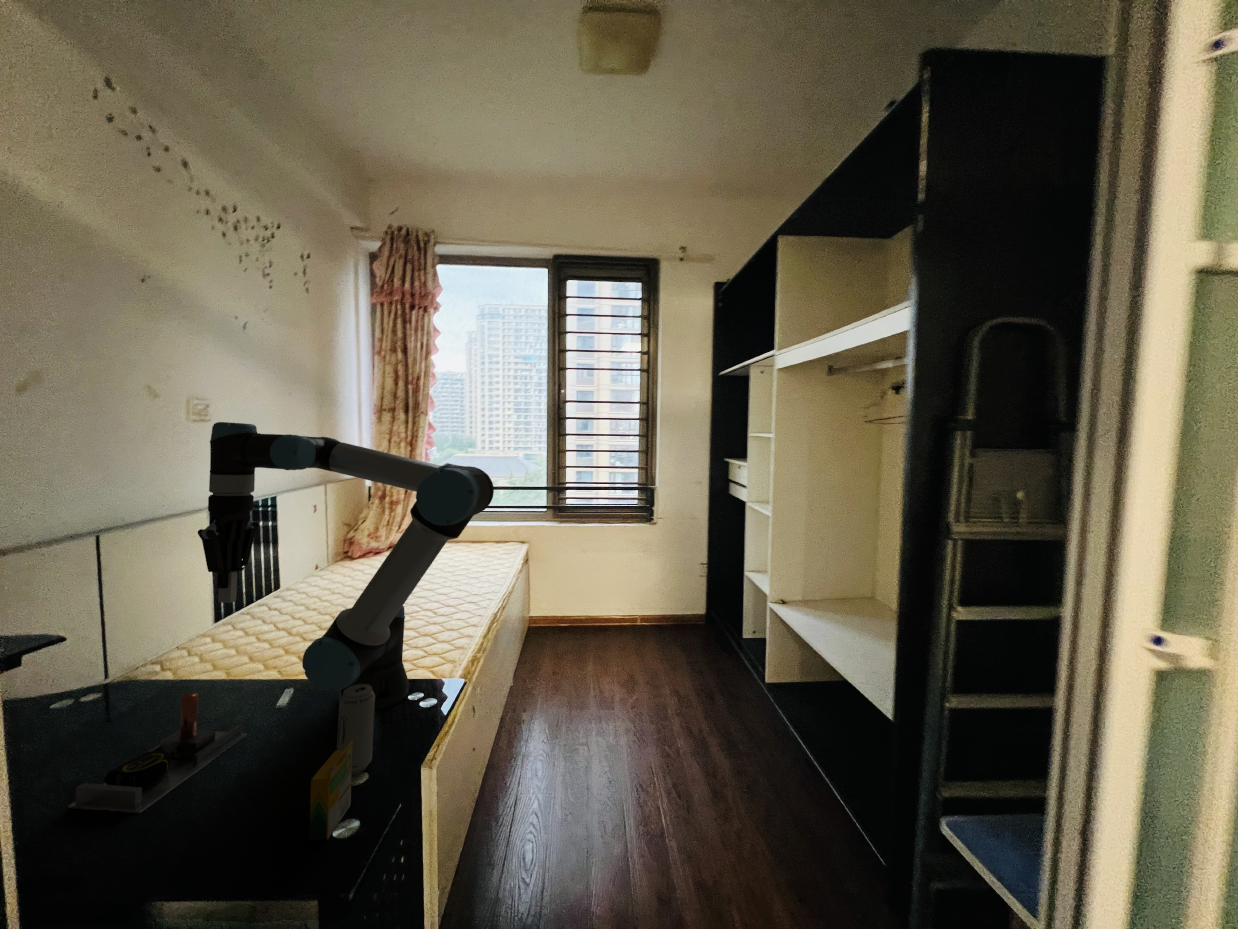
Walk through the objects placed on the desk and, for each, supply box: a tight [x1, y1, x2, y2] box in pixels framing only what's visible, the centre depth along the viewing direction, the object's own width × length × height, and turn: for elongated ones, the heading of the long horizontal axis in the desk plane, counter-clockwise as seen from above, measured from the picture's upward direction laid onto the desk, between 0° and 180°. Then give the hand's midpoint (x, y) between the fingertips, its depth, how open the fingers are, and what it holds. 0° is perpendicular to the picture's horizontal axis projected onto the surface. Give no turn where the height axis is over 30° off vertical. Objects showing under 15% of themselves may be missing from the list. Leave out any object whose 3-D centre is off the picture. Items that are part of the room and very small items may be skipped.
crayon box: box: [308, 740, 353, 841], centre depth 75 cm, size 7×3×12 cm, turn 4°
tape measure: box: [103, 751, 170, 787], centre depth 81 cm, size 7×7×4 cm
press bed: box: [68, 720, 248, 814], centre depth 85 cm, size 12×21×3 cm, turn 179°
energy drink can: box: [336, 684, 375, 776], centre depth 88 cm, size 6×6×15 cm
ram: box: [159, 691, 216, 759], centre depth 88 cm, size 7×5×11 cm
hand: (227, 601), depth 99 cm, fingers closed
